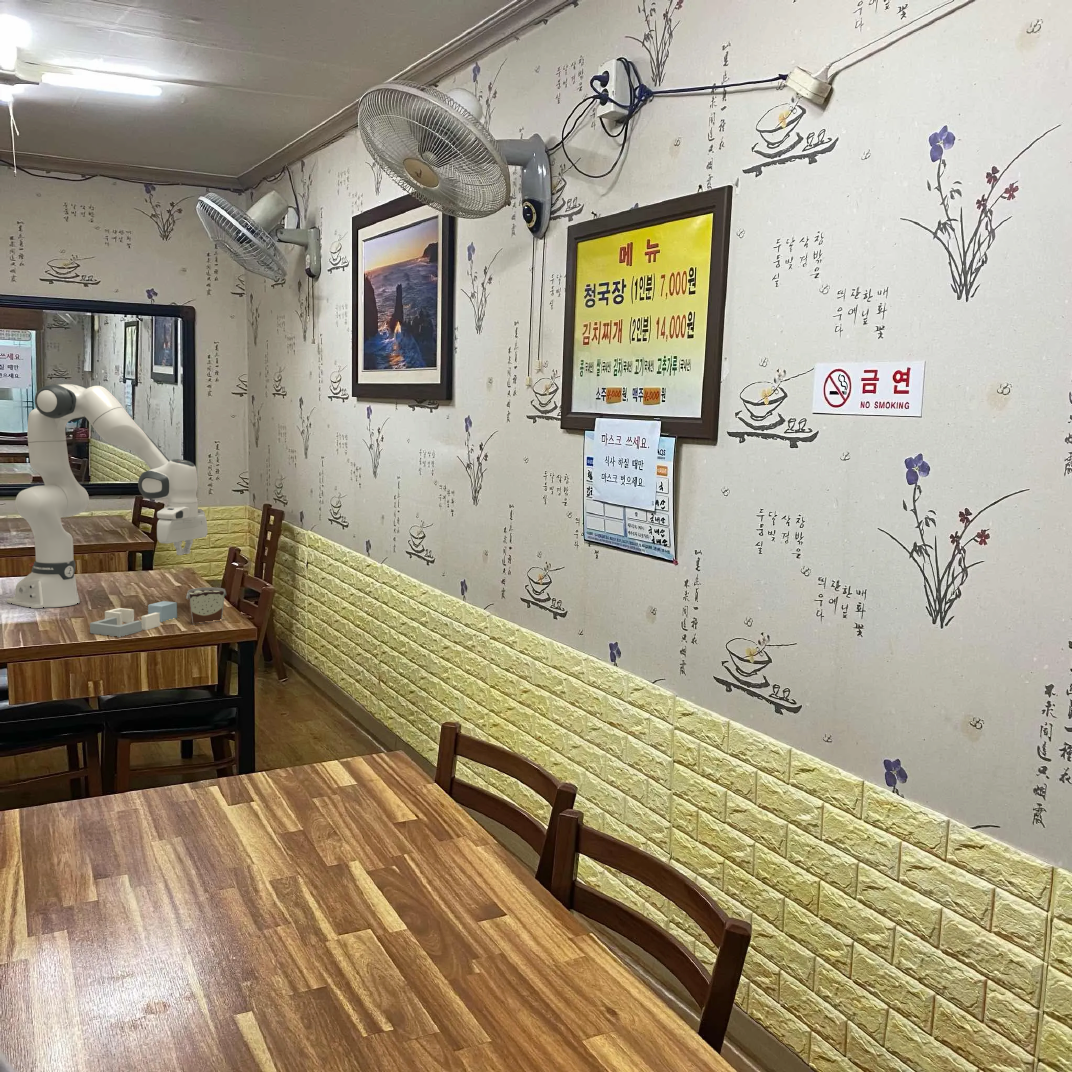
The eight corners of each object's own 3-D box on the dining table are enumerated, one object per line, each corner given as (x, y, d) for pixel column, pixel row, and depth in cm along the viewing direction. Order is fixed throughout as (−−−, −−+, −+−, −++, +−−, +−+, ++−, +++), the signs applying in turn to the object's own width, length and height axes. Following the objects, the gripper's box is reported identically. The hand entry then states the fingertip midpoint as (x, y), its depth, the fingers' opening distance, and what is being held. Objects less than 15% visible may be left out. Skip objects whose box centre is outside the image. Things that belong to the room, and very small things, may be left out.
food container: (218, 616, 309) (218, 585, 308) (226, 620, 304) (226, 588, 303) (179, 621, 301) (179, 589, 299) (187, 624, 296) (187, 592, 295)
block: (148, 620, 300) (148, 604, 299) (163, 616, 307) (163, 600, 306) (161, 622, 298) (161, 606, 298) (177, 618, 305) (176, 602, 304)
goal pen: (90, 633, 281) (89, 623, 281) (112, 627, 290) (112, 617, 289) (119, 637, 278) (119, 627, 277) (141, 630, 286) (141, 620, 286)
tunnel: (105, 624, 292) (104, 611, 292) (119, 620, 298) (119, 607, 297) (145, 629, 288) (145, 616, 287) (159, 625, 293) (159, 612, 293)
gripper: (196, 507, 318) (196, 549, 320) (153, 513, 299) (153, 557, 301) (212, 509, 316) (212, 550, 318) (170, 514, 297) (170, 559, 299)
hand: (183, 554), depth 309 cm, fingers closed
